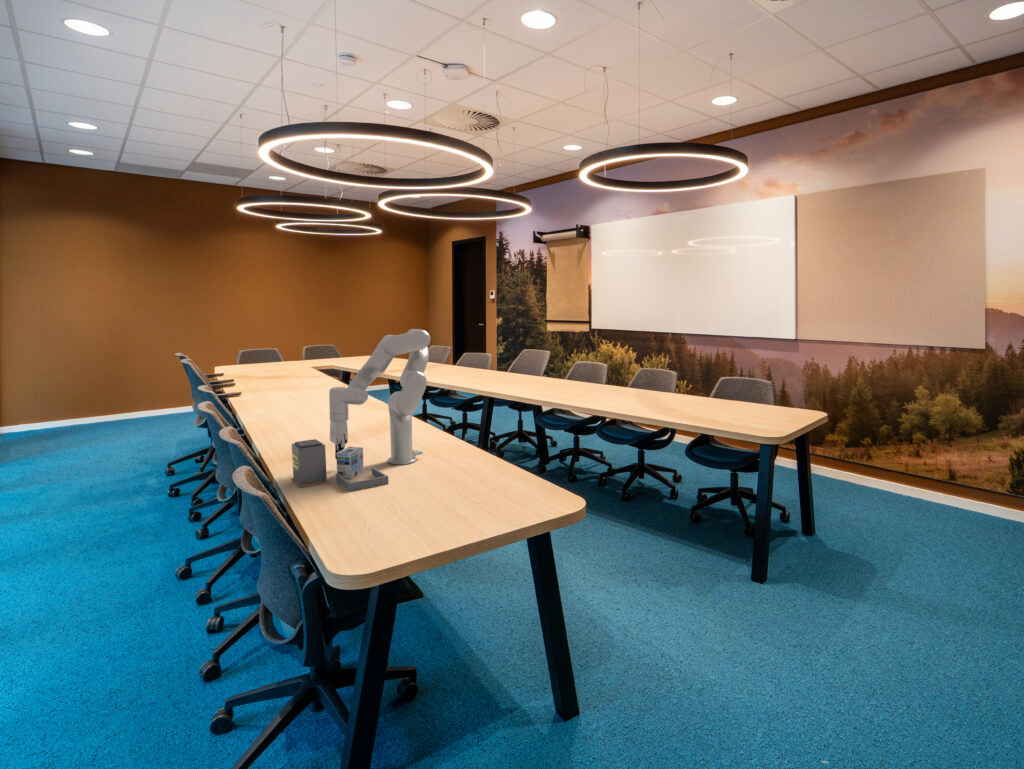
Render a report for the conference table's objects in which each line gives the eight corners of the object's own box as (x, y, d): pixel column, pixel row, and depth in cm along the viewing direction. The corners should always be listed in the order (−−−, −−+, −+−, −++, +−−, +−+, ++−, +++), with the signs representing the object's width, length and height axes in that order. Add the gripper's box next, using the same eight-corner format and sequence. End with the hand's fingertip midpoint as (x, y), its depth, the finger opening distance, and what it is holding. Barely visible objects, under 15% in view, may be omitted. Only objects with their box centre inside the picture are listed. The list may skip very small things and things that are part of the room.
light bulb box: (352, 479, 215) (350, 453, 214) (336, 478, 217) (335, 452, 215) (364, 472, 226) (363, 446, 224) (349, 471, 227) (348, 446, 226)
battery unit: (319, 475, 221) (317, 437, 219) (329, 482, 211) (327, 443, 209) (291, 480, 214) (289, 441, 212) (299, 488, 204) (297, 447, 202)
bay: (373, 474, 222) (373, 467, 221) (388, 483, 210) (388, 476, 209) (335, 481, 213) (335, 474, 212) (349, 491, 201) (348, 483, 200)
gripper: (324, 414, 231) (325, 456, 233) (336, 420, 219) (336, 464, 221) (341, 413, 235) (342, 454, 237) (354, 418, 223) (354, 461, 225)
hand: (339, 458), depth 229 cm, fingers closed
